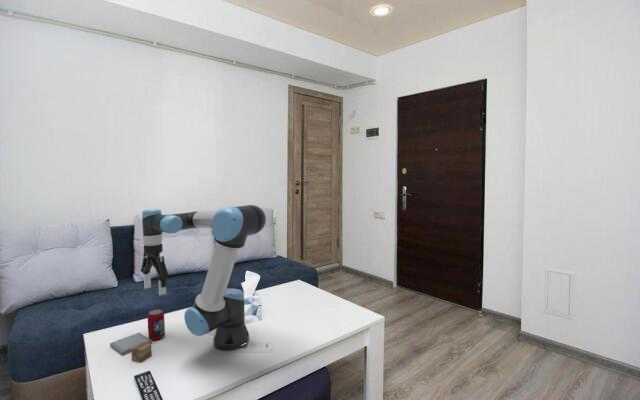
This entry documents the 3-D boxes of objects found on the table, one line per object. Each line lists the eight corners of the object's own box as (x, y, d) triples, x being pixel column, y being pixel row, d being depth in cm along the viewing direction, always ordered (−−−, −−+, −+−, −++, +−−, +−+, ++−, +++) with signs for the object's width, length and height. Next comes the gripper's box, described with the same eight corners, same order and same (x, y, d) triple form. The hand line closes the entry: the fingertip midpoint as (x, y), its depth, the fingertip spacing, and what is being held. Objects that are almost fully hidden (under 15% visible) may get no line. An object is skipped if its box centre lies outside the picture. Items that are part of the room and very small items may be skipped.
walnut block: (151, 355, 135) (151, 344, 134) (141, 362, 130) (141, 350, 130) (142, 354, 136) (141, 342, 136) (131, 360, 132) (131, 348, 131)
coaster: (152, 343, 144) (152, 340, 144) (122, 355, 135) (122, 351, 135) (139, 335, 152) (139, 332, 152) (110, 346, 142) (110, 342, 142)
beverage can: (158, 341, 146) (157, 315, 145) (144, 340, 147) (143, 314, 146) (168, 334, 153) (167, 309, 152) (155, 333, 154) (154, 308, 153)
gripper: (176, 246, 142) (177, 294, 144) (148, 239, 158) (150, 283, 159) (158, 249, 136) (160, 299, 138) (131, 242, 152) (133, 287, 153)
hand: (154, 291), depth 149 cm, fingers open, 13 cm apart
